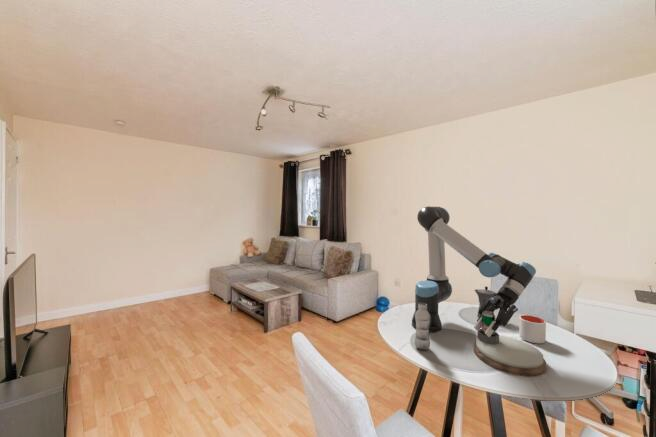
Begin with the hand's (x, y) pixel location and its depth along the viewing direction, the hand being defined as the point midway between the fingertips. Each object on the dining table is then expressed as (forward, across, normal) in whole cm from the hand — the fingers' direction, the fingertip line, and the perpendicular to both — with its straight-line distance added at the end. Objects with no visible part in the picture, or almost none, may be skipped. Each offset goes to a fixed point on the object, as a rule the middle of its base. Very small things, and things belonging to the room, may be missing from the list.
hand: (481, 331), depth 115 cm
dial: (0, -6, -9) cm, 11 cm away
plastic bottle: (+23, +10, +10) cm, 27 cm away
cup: (-17, +2, -30) cm, 34 cm away
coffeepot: (-19, +28, -32) cm, 46 cm away
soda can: (0, 0, -6) cm, 6 cm away
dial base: (+2, -7, -11) cm, 13 cm away
